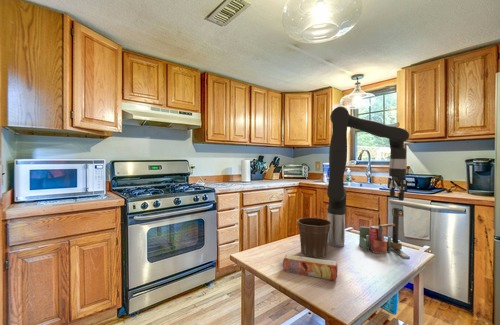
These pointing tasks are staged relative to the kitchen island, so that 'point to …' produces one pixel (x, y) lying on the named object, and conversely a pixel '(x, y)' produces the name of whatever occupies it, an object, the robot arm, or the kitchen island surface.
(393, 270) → the kitchen island surface
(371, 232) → the soda can
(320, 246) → the plant pot
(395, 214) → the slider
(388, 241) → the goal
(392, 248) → the rail
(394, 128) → the robot arm
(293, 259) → the snack package
